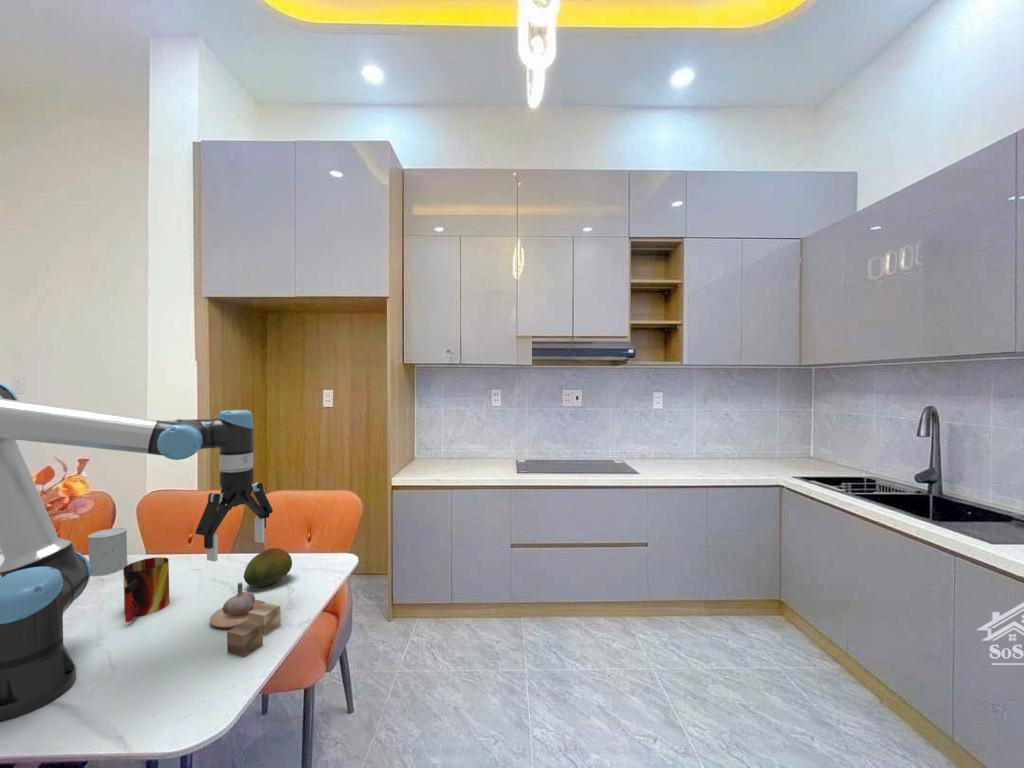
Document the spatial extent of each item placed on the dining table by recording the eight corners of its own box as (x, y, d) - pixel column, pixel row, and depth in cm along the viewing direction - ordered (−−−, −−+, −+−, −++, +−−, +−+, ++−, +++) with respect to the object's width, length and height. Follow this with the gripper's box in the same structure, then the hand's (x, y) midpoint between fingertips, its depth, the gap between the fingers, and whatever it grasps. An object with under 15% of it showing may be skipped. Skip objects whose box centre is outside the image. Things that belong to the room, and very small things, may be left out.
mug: (125, 627, 115) (124, 580, 114) (123, 607, 125) (122, 563, 125) (173, 613, 121) (172, 569, 121) (167, 595, 131) (166, 554, 131)
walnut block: (243, 657, 102) (243, 635, 102) (227, 653, 103) (226, 631, 103) (262, 645, 107) (262, 624, 106) (246, 641, 108) (246, 620, 108)
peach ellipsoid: (235, 634, 111) (235, 629, 111) (197, 625, 115) (197, 620, 115) (278, 608, 123) (278, 604, 123) (243, 601, 127) (243, 597, 127)
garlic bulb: (257, 614, 118) (256, 583, 118) (223, 623, 114) (223, 591, 114) (253, 602, 124) (253, 573, 124) (221, 611, 120) (221, 580, 120)
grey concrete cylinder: (88, 569, 150) (87, 532, 150) (126, 561, 156) (126, 525, 156) (88, 578, 143) (87, 540, 143) (128, 570, 149) (127, 532, 149)
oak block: (264, 635, 110) (263, 615, 110) (248, 632, 112) (248, 612, 112) (280, 625, 115) (280, 605, 115) (265, 621, 117) (265, 602, 117)
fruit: (298, 576, 143) (297, 544, 143) (270, 595, 131) (270, 560, 131) (265, 573, 145) (265, 542, 145) (235, 592, 133) (234, 558, 133)
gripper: (200, 480, 106) (200, 571, 106) (286, 462, 129) (286, 536, 129) (177, 478, 108) (178, 567, 108) (266, 460, 132) (266, 533, 132)
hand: (237, 550), depth 119 cm, fingers open, 13 cm apart
